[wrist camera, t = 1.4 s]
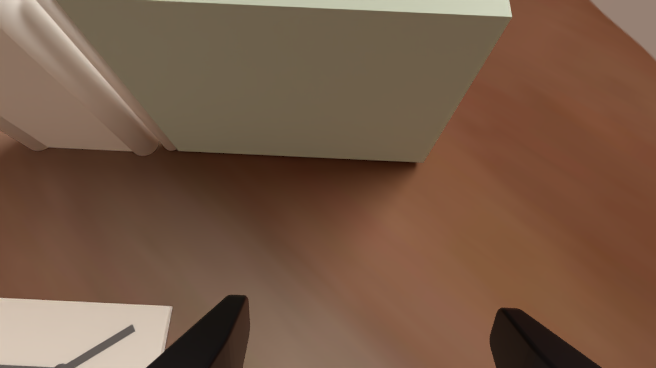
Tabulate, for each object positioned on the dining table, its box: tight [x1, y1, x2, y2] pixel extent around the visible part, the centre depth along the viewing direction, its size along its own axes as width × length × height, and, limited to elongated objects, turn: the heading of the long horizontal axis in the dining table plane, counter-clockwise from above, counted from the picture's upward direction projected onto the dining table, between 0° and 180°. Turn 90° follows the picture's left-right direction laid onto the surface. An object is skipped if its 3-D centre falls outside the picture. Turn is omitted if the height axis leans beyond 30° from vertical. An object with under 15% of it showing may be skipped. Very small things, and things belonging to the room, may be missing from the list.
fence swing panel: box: [36, 0, 512, 162], centre depth 19 cm, size 17×1×12 cm, turn 87°
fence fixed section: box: [0, 0, 159, 156], centre depth 18 cm, size 9×2×13 cm, turn 87°
